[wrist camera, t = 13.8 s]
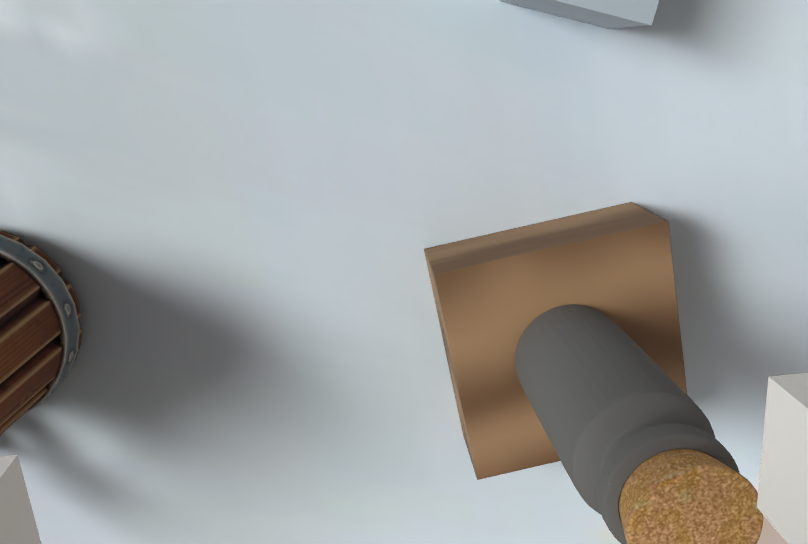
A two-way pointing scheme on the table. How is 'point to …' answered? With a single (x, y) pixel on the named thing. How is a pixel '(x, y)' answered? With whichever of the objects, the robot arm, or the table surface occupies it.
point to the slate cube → (597, 11)
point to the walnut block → (537, 293)
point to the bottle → (631, 435)
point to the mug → (33, 328)
